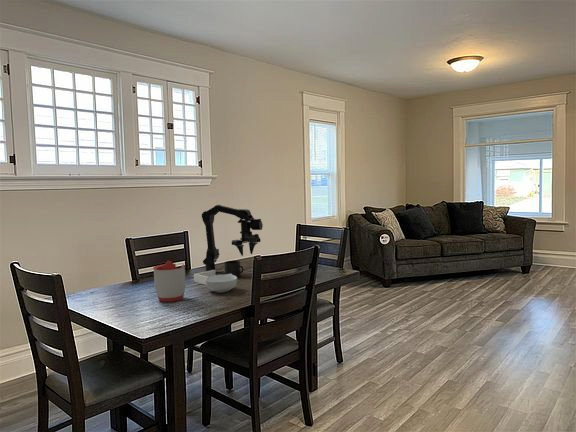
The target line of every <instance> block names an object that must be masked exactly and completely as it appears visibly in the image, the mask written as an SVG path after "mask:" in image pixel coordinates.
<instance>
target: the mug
mask: <svg viewBox="0 0 576 432" xmlns="http://www.w3.org/2000/svg"><path fill="white" fill-rule="evenodd" d="M243 272H244V267H243V266H242V265H241V261H240V260H228V261H224V274H232V275H234V276H236V277H237V279H238V278H240V277H241V275H242V273H243Z"/></svg>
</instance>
